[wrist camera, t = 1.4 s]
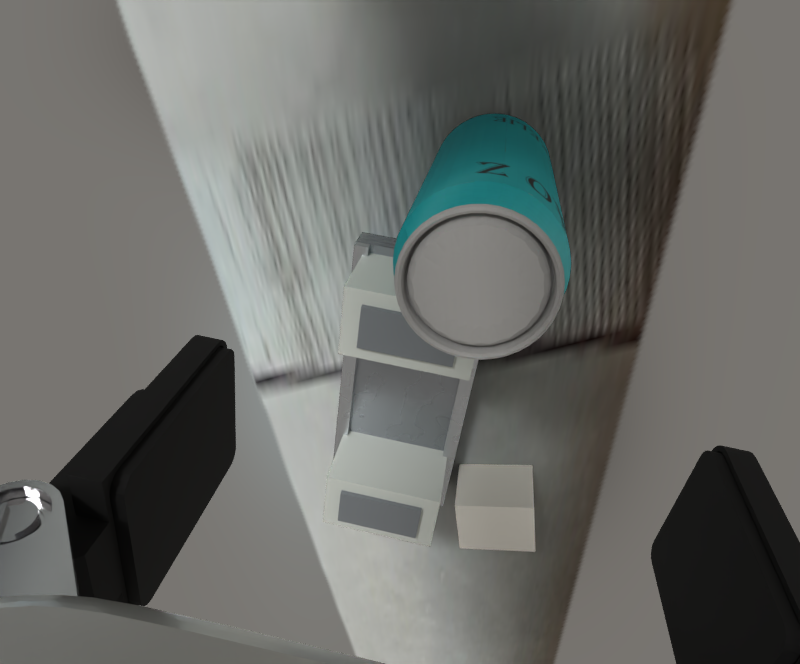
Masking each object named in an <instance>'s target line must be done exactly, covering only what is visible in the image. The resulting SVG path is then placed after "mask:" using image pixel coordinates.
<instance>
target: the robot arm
mask: <svg viewBox="0 0 800 664" xmlns="http://www.w3.org/2000/svg"><path fill="white" fill-rule="evenodd" d="M235 436H236V432H235V367H234V352H233V350H231V349H227V345H226V342H225V341H223V340H219V339H214V338H210V337H205V336H200V335H195V336H194V337H193V338H192V339H191V340H190V341H189V342H188V343H187V344H186V345H185V346H184V347H183V348H182V350H181V351H180V352H179V353H178V354H177V355H176V356H175V357H174V358H173V359H172V360H171V362H170V363H169V364H168V365H167V366H166V367H165V368H164V369H163V370H162V371H161V372H160V373H159V375H158V376H157V377H156V378H155V379H154V380H153V381H152V382H151V383H150V384H149V386H148V387H147V388H146V389H145V390H144V389H142V390H138V391H136V392H135V393H134V394H133V395H132V396H131V397H130V398H129V399H128V400H127V401H126V402H125V403H124V404H123V405H122V406H121V407H120V408H119V409H118V410H117V412H116V413H115V414H114V415H113V416H112V417H111V418H110V419H109V420H108V421H107V422H106V423H105V424H104V425H103V426H102V427H101V429H100V430H99V431H98V432H97V433H96V434H95V435H94V436H93V437H92V438H91V439H90V440H89V441H88V442H87V443H86V444H85V446H84V447H83V448H82V449H81V450H80V451H79V452H78V453H77V454H76V455H75V456H74V457H73V458H72V459H71V461H70V462H69V463H68V464H67V465H66V466H65V467H64V468H63V469H62V470H61V471H60V472H59V473H58V474H57V475H56V477H54V479H53V480H52V481H51V482H50V483H45V482H42V481H38V480H20V481H15V482H8V483H5V484H2V485H0V664H384V663H380V662H376V661H372V660H368V659H364V658H360V657H356V656H351V655H347V654H344V653H339V652H335V651H331V650H327V649H323V648H319V647H314V646H310V645H306V644H302V643H298V642H294V641H289V640H286V639H282V638H277V637H273V636H269V635H265V634H261V633H256V632H253V631H248V630H244V629H240V628H236V627H232V626H228V625H223V624H219V623H215V622H210V621H206V620H201V619H197V618H192V617H188V616H184V615H179V614H175V613H170V612H166V611H161V610H157V609H152V608H148V607H143V606H145V605H147V604H148V603H149V602H150V600H151V599H152V597H153V596H154V594H155V592H156V591H157V589H158V587H159V585H160V583H161V582H162V580H163V579H164V577H165V575H166V574H167V572H168V570H169V569H170V567H171V565H172V563H173V562H174V560H175V558H176V557H177V555H178V554H179V552H180V550H181V548H182V547H183V545H184V543H185V542H186V540H187V538H188V537H189V535H190V533H191V531H192V530H193V528H194V527H195V525H196V523H197V521H198V520H199V518H200V516H201V515H202V513H203V511H204V510H205V508H206V506H207V505H208V503H209V501H210V500H211V498H212V496H213V495H214V493H215V491H216V489H217V488H218V486H219V484H220V483H221V481H222V479H223V478H224V476H225V474H226V473H227V471H228V469H229V467H230V466H231V464H232V461H233V459H234V455H235V450H236V437H235ZM651 559H652V565H653V569H654V573H655V577H656V581H657V586H658V589H659V594H660V598H661V602H662V606H663V610H664V614H665V619H666V623H667V627H668V631H669V635H670V639H671V644H672V648H673V652H674V656H675V660H676V664H800V542H799V540H798V538H797V536H796V534H795V532H794V531H793V529H792V527H791V525H790V523H789V521H788V519H787V517H786V515H785V513H784V511H783V509H782V507H781V505H780V503H779V501H778V499H777V498H776V496H775V494H774V492H773V490H772V488H771V486H770V484H769V482H768V480H767V478H766V476H765V475H764V472H763V471H762V468H761V467H760V465H759V463H758V461H757V459H756V457H755V456H754V455H753V453H751V452H749V451H744V450H739V449H735V448H730V447H725V446H716V447H715V448H714V449H713V450H712V451H705V452H703V454H702V455H701V457H700V458H699V460H698V462H697V464H696V466H695V468H694V469H693V471H692V473H691V475H690V476H689V478H688V480H687V482H686V484H685V486H684V487H683V489H682V491H681V493H680V495H679V496H678V498H677V500H676V502H675V504H674V506H673V507H672V509H671V511H670V513H669V515H668V517H667V519H666V520H665V522H664V524H663V526H662V527H661V529H660V531H659V533H658V535H657V537H656V539H655V540H654V543H653V545H652V551H651ZM139 605H141V606H139Z"/></svg>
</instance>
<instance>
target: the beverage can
mask: <svg viewBox="0 0 800 664" xmlns="http://www.w3.org/2000/svg"><path fill="white" fill-rule="evenodd" d="M393 272H394V285H395V294H396V298H397V302H398V305H399V308H400V310H401V313H402V315H403V316H404V318H405V320H406V321H407V323H408V324H409V326H410V327H411V328H412V329H413V330H414V332H415V333H416V334H417V335H418V336H420V337H421V338H422V339H423V340H424V341H425V342H427V343H428V344H430V345H431V346H433V347H434V348H436V349H438V350H440V351H443V352H445V353H447V354H450V355H453V356H456V357H461V358H467V359H478V360H484V359H495V358H500V357H504V356H508V355H510V354H513V353H516V352H518V351H520V350H522V349H524V348H526V347H528V346H529V345H531V344H532V343H533V342H535V341H536V340H537V339H539V338H540V337H541V336H542V335H543V334H544V333H545V332H546V331H547V330H548V328H549V327H550V325H551V324H552V322H553V321H554V320H555V317H556V315H557V313H558V311H559V309H560V307H561V303H562V300H563V296H564V294H565V292H566V289H567V286H568V282H569V279H570V272H571V254H570V247H569V243H568V238H567V234H566V229H565V225H564V220H563V215H562V211H561V206H560V202H559V197H558V192H557V188H556V183H555V179H554V174H553V169H552V165H551V160H550V156H549V152H548V150H547V147H546V145H545V143H544V141H543V140H542V138H541V137H540V135H539V134H538V133H537V132H536V131H535V130H534V129H533V128H532V127H531V126H529V125H528V124H527V123H526V122H524V121H522V120H520V119H518V118H516V117H512V116H509V115H504V114H485V115H480V116H477V117H474V118H471V119H469V120H467V121H465V122H463V123H462V124H460V125H459V126H458V127H456V128H455V129H454V130H453V131H452V132H451V133H450V134H449V135H448V136H447V138H446V139H445V140H444V142H443V143H442V145H441V147H440V149H439V151H438V153H437V155H436V157H435V160H434V162H433V164H432V166H431V168H430V170H429V172H428V174H427V176H426V178H425V180H424V182H423V184H422V186H421V188H420V191H419V193H418V195H417V197H416V199H415V201H414V203H413V205H412V207H411V209H410V211H409V213H408V215H407V217H406V219H405V222H404V224H403V226H402V228H401V230H400V232H399V234H398V236H397V240H396V244H395V247H394V254H393Z"/></svg>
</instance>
